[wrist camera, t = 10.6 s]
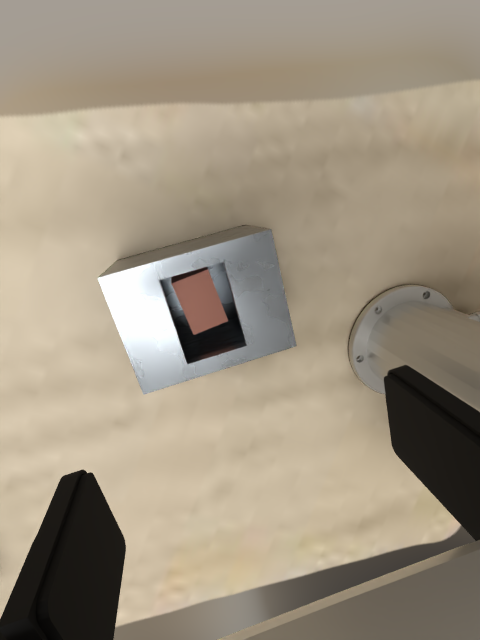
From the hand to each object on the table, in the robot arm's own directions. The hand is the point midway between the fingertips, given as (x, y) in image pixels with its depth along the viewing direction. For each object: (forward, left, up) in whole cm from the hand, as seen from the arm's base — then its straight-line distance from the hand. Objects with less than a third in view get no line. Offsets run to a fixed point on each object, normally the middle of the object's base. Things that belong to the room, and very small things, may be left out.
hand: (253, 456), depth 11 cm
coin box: (0, 0, -24) cm, 24 cm away
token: (0, 0, -24) cm, 24 cm away
